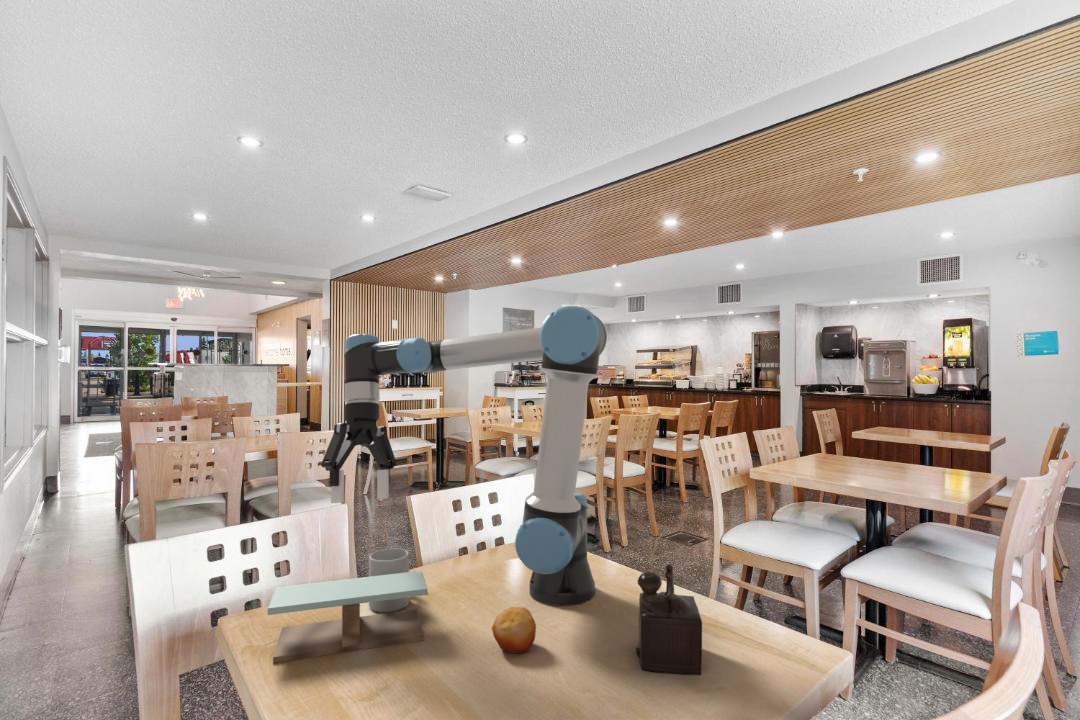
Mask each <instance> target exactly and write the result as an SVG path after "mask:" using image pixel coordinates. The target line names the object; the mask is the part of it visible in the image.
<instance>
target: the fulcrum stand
mask: <svg viewBox="0 0 1080 720" xmlns="http://www.w3.org/2000/svg"><path fill="white" fill-rule="evenodd" d="M360 604H361V603H360ZM360 604H352V605H344V606H341V607H342V608H341V612H342V613H341V615H342V617H341V618H339V619H334V620H333V619H332V620H325V621H319V622H318V621H317V622H311V623H303V624H302V623H301V624H295V625H289V626H282V628H281V630H280V634H279V637H278V639H277V644H276V647H275V650H274V652H273V657H272V663H273V664H275V663H277V664H278V663H281V662H287V661H294V660H296V661H297V660H300V659H303V660H304V659H309V658H316V657H322V656H328V655H335V654H341V653H348V652H355V651H361V650H368V649H374V648H375V649H376V648H381V647H389V646H393V645H400V644H407V643H408V642H409V643H415V642H420V641H424V640H423V639H424V638H423V637H424V635H423V629H422V625H421V621H420V618H419V617H420V616H419V612H418V609H417V608H415V609H408V610H407V609H406V610H401V611H400V610H398V611H394V612H388V613H379V614H378V613H377V614H370V615H363V616H361V614H360V613H361V612H360V611H361V605H360Z"/></svg>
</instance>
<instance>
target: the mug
mask: <svg viewBox="0 0 1080 720" xmlns="http://www.w3.org/2000/svg"><path fill="white" fill-rule="evenodd" d="M409 554H410V553H409V551H408V550H406V549H403V548H396V547H395V548H385V549H379V550H377V551H374V552H372V553H371V554H370V555H369V557H368V558H369V559H368V569H369V570H368V577H371V576H380V575H389V574H397V573H406V572H410V571H409V570H410V565H409V564H410V563H409V561H410V560H409V559H410V558H409V557H410V556H409ZM409 603H410V597H407V598H399V599H391V600H383V601H376V602H368V607H370V608H369V610H371V611H372V610H373V611H372V612H375V611H377V612H376V613H380V612H388V613H391V612H393V611H394V612H398V611H400V609H401V610H402V609H404V607H405V608H406V607H407V606H408V605H409ZM397 610H398V611H397Z"/></svg>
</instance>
